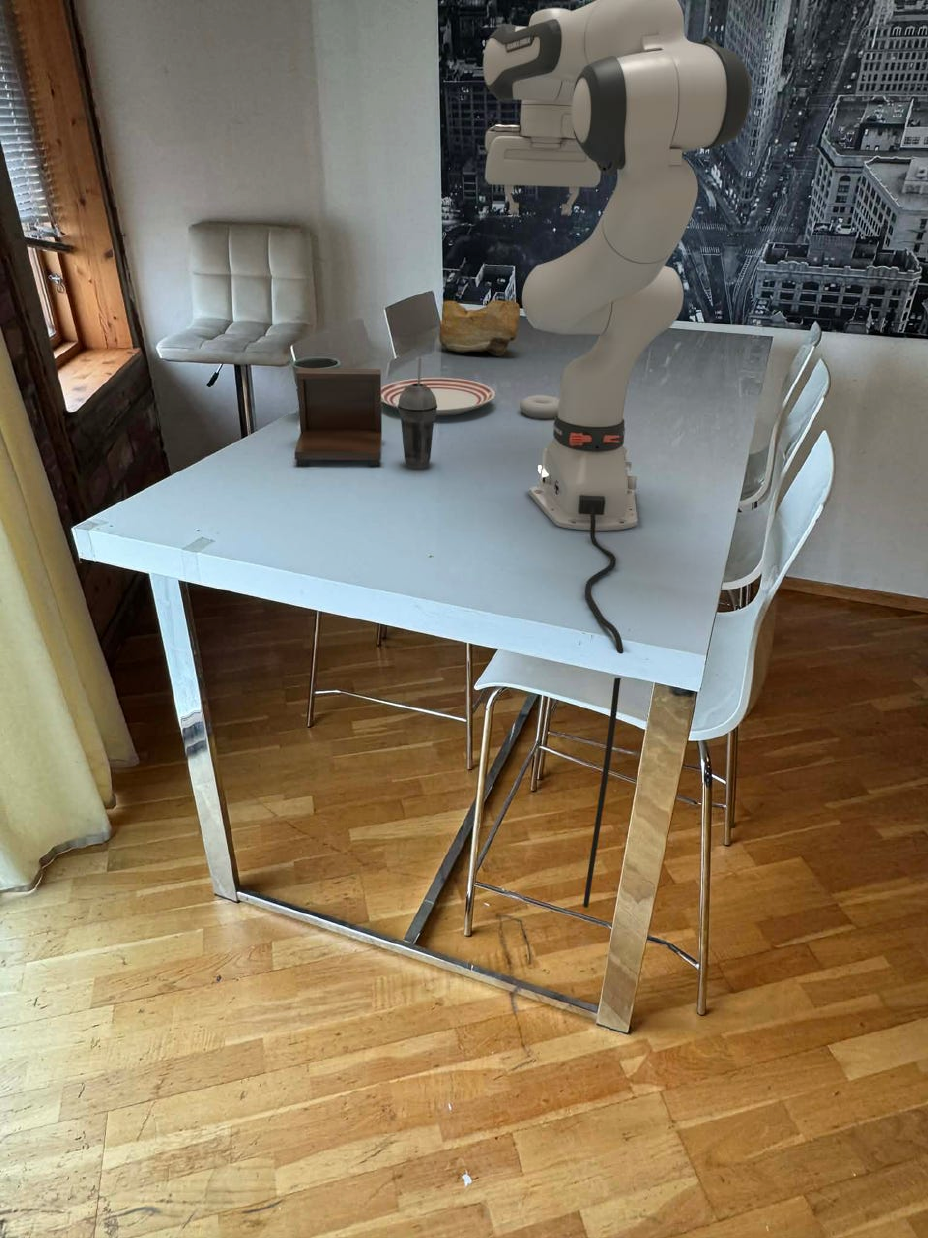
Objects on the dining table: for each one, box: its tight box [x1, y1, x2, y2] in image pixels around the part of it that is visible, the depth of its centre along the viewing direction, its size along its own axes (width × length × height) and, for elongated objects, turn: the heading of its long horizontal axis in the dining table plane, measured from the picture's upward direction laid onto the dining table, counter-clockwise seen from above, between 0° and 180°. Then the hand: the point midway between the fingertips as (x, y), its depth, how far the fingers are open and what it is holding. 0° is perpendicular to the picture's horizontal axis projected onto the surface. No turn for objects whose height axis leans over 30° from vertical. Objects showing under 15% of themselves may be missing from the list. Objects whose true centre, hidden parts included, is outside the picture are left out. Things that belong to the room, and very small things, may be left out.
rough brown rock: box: [438, 299, 521, 357], centre depth 242 cm, size 23×17×15 cm
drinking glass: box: [291, 356, 341, 397], centre depth 183 cm, size 10×10×12 cm
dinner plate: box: [381, 377, 496, 417], centre depth 196 cm, size 27×27×3 cm
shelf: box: [294, 368, 383, 468], centre depth 162 cm, size 15×16×15 cm
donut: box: [519, 394, 559, 420], centre depth 192 cm, size 10×4×10 cm
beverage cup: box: [398, 357, 437, 471], centre depth 157 cm, size 7×7×20 cm
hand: (539, 214), depth 152 cm, fingers open, 8 cm apart
